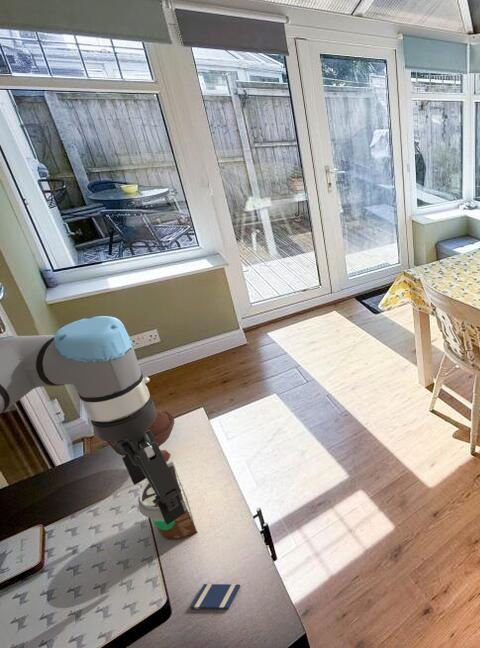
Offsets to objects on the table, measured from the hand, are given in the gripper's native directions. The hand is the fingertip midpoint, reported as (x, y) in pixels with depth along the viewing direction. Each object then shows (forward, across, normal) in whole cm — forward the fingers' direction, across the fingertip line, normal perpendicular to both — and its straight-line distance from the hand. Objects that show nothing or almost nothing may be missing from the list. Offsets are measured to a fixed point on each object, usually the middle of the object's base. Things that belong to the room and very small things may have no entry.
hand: (158, 497), depth 75 cm
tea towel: (+8, -19, +1) cm, 21 cm away
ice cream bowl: (+9, +21, -5) cm, 23 cm away
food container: (+9, 0, 0) cm, 9 cm away
